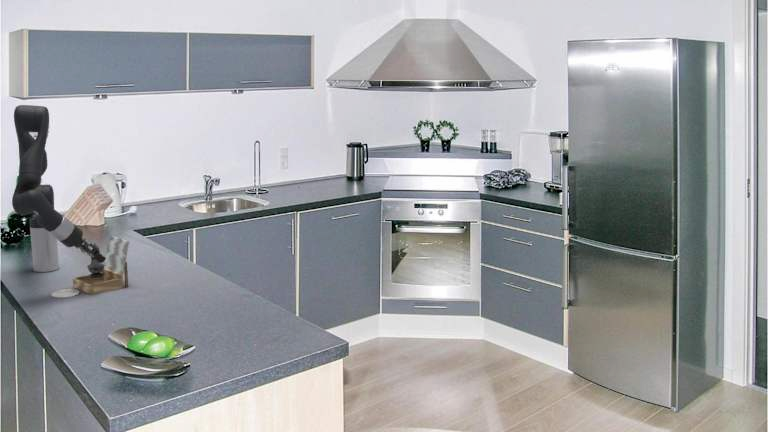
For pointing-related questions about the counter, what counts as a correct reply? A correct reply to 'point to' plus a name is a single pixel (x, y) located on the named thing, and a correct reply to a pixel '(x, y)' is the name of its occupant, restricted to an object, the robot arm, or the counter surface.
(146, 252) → the counter surface
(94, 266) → the grey tall domed piece
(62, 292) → the saucer
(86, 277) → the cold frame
